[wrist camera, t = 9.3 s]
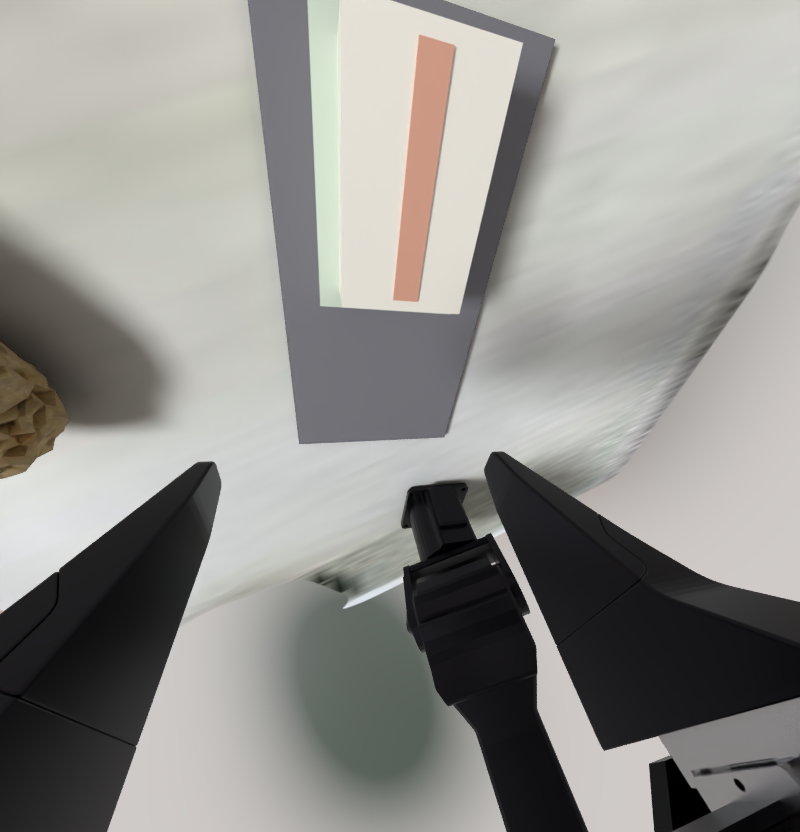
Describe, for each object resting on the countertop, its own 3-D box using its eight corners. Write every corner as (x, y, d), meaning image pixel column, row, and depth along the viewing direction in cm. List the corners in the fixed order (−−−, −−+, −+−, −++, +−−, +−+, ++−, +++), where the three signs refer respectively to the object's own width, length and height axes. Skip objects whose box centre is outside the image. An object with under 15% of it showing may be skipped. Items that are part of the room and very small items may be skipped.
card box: (481, 75, 12) (524, 41, 9) (439, 297, 17) (459, 314, 15) (337, 35, 11) (341, -18, 8) (339, 290, 16) (342, 308, 13)
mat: (442, 434, 25) (444, 438, 25) (299, 440, 22) (299, 444, 22) (549, 43, 12) (556, 38, 12) (242, -62, 9) (239, -74, 9)
